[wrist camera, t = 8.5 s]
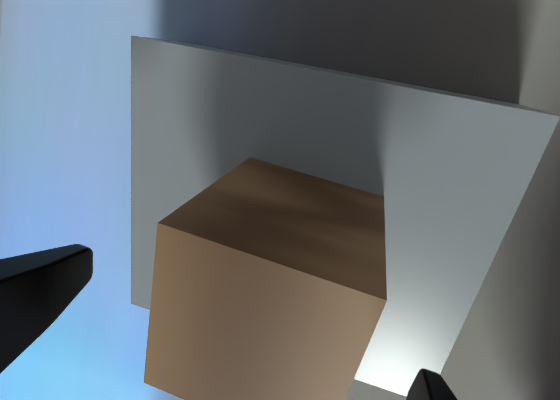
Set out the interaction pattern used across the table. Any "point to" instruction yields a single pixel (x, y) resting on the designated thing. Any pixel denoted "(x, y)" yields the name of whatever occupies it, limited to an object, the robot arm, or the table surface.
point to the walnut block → (266, 288)
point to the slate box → (341, 173)
